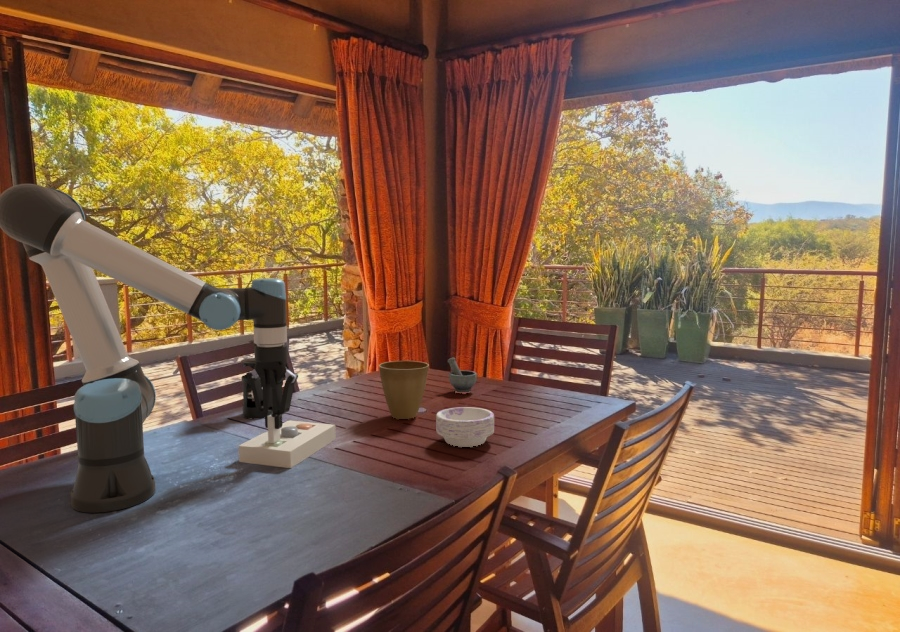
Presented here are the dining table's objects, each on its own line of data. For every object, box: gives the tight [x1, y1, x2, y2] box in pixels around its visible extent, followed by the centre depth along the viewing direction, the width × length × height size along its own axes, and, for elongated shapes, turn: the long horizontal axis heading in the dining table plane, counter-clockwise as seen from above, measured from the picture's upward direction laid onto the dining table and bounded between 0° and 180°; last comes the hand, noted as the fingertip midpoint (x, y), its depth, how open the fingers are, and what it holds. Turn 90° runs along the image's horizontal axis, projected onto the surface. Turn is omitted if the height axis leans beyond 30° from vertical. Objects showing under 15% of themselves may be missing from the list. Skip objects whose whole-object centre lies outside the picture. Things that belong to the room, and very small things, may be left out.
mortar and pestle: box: [447, 357, 478, 392], centre depth 213 cm, size 11×9×12 cm
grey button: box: [281, 426, 298, 438], centre depth 151 cm, size 4×4×4 cm
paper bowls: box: [435, 406, 495, 448], centre depth 158 cm, size 15×15×8 cm
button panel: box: [238, 419, 337, 469], centre depth 152 cm, size 22×14×4 cm, turn 163°
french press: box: [240, 339, 273, 420], centre depth 183 cm, size 12×9×23 cm
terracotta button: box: [296, 423, 312, 430], centre depth 158 cm, size 4×4×4 cm
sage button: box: [265, 440, 282, 447], centre depth 145 cm, size 4×4×4 cm
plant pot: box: [378, 360, 430, 420], centre depth 181 cm, size 15×15×16 cm
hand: (274, 441), depth 145 cm, fingers closed
